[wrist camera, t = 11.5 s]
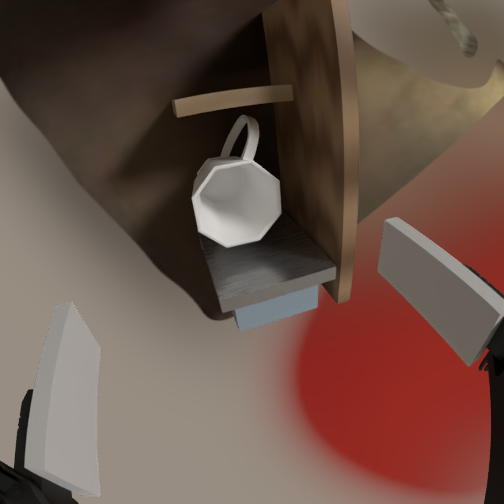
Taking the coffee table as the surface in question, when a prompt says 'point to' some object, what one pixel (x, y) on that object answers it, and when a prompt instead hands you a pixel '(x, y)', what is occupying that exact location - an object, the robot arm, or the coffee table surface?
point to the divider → (231, 99)
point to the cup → (236, 193)
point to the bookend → (266, 265)
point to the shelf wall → (318, 126)
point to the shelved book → (276, 308)
